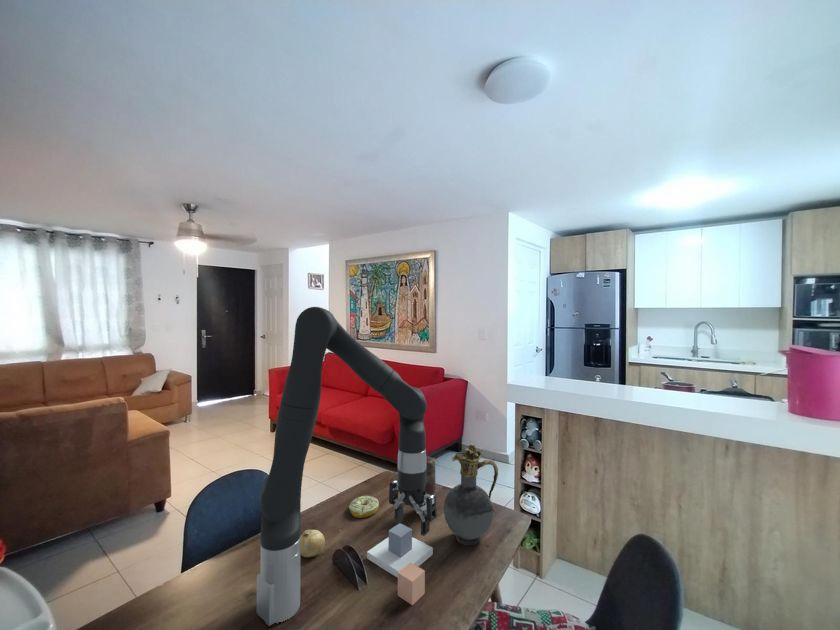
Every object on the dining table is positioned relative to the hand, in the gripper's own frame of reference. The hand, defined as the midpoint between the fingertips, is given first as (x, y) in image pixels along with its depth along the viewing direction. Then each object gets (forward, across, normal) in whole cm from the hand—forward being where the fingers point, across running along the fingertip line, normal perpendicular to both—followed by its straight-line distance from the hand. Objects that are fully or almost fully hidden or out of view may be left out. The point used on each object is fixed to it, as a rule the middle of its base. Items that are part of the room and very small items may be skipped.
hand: (411, 527), depth 94 cm
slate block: (+15, -12, +9) cm, 21 cm away
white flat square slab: (+17, -12, +9) cm, 23 cm away
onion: (+18, -34, -7) cm, 39 cm away
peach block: (+17, 0, 0) cm, 17 cm away
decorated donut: (+18, -39, +19) cm, 47 cm away
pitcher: (+18, 0, +31) cm, 36 cm away
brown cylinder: (+18, -21, +33) cm, 43 cm away
